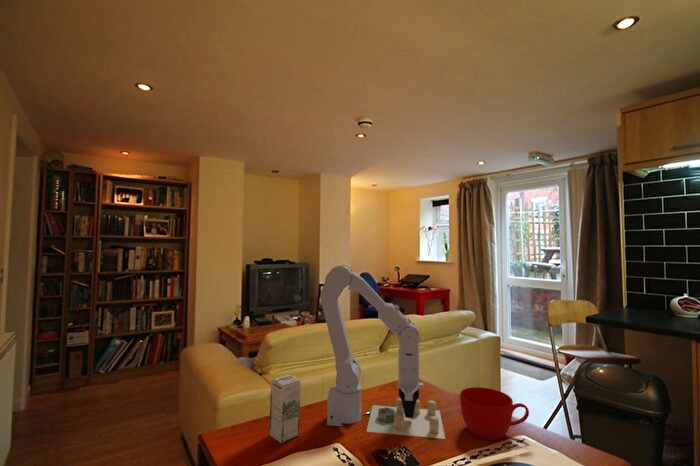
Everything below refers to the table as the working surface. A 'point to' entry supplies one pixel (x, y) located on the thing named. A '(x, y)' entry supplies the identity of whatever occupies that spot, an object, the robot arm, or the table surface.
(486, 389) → the ceramic cup
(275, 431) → the syrup box
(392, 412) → the grey faceted polyhedron
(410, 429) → the board
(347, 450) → the table surface
